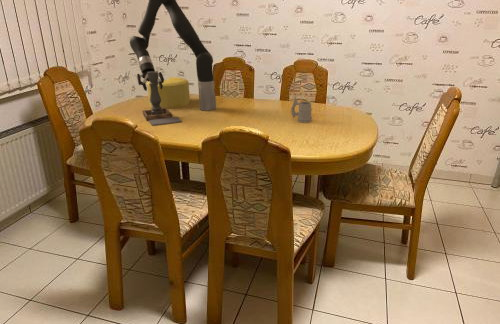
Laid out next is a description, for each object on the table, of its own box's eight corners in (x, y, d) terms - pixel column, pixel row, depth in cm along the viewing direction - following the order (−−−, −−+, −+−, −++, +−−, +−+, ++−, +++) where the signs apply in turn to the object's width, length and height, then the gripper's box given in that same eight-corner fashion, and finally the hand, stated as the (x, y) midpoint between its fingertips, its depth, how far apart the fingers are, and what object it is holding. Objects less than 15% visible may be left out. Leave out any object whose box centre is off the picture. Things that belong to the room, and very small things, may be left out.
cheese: (159, 98, 259) (157, 76, 254) (195, 99, 254) (193, 77, 249) (142, 107, 236) (139, 83, 230) (181, 109, 231) (179, 84, 225)
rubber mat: (177, 117, 213) (177, 116, 213) (181, 122, 204) (181, 121, 204) (148, 121, 207) (148, 119, 207) (151, 125, 199) (151, 124, 198)
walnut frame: (167, 112, 225) (166, 107, 224) (172, 117, 213) (171, 113, 212) (143, 114, 220) (142, 110, 219) (146, 120, 208) (146, 116, 207)
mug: (308, 123, 199) (309, 101, 194) (288, 120, 204) (288, 99, 200) (313, 120, 205) (314, 98, 200) (293, 117, 210) (294, 96, 206)
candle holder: (160, 117, 213) (155, 73, 203) (149, 117, 214) (144, 72, 204) (164, 115, 218) (160, 71, 209) (154, 114, 219) (149, 71, 210)
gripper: (134, 62, 210) (141, 86, 205) (159, 60, 216) (167, 84, 211) (133, 71, 216) (140, 94, 211) (157, 68, 222) (165, 91, 217)
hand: (153, 89), depth 211 cm, fingers open, 8 cm apart
